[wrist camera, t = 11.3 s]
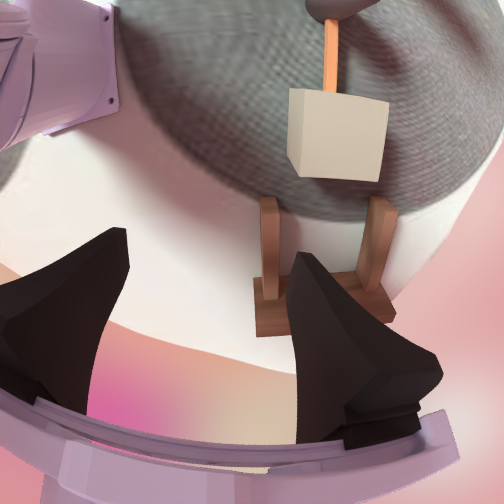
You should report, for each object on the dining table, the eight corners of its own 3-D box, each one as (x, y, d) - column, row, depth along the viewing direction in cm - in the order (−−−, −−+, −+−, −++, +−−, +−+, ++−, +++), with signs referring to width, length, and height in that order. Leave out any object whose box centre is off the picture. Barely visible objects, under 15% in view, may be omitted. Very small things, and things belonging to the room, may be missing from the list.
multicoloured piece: (290, -14, 11) (309, -48, 6) (358, -2, 11) (397, -23, 6) (286, 154, 19) (302, 182, 14) (350, 159, 19) (384, 188, 14)
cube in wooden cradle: (249, 197, 21) (251, 238, 16) (390, 195, 21) (426, 231, 16) (253, 287, 26) (256, 337, 21) (370, 279, 26) (392, 322, 21)
